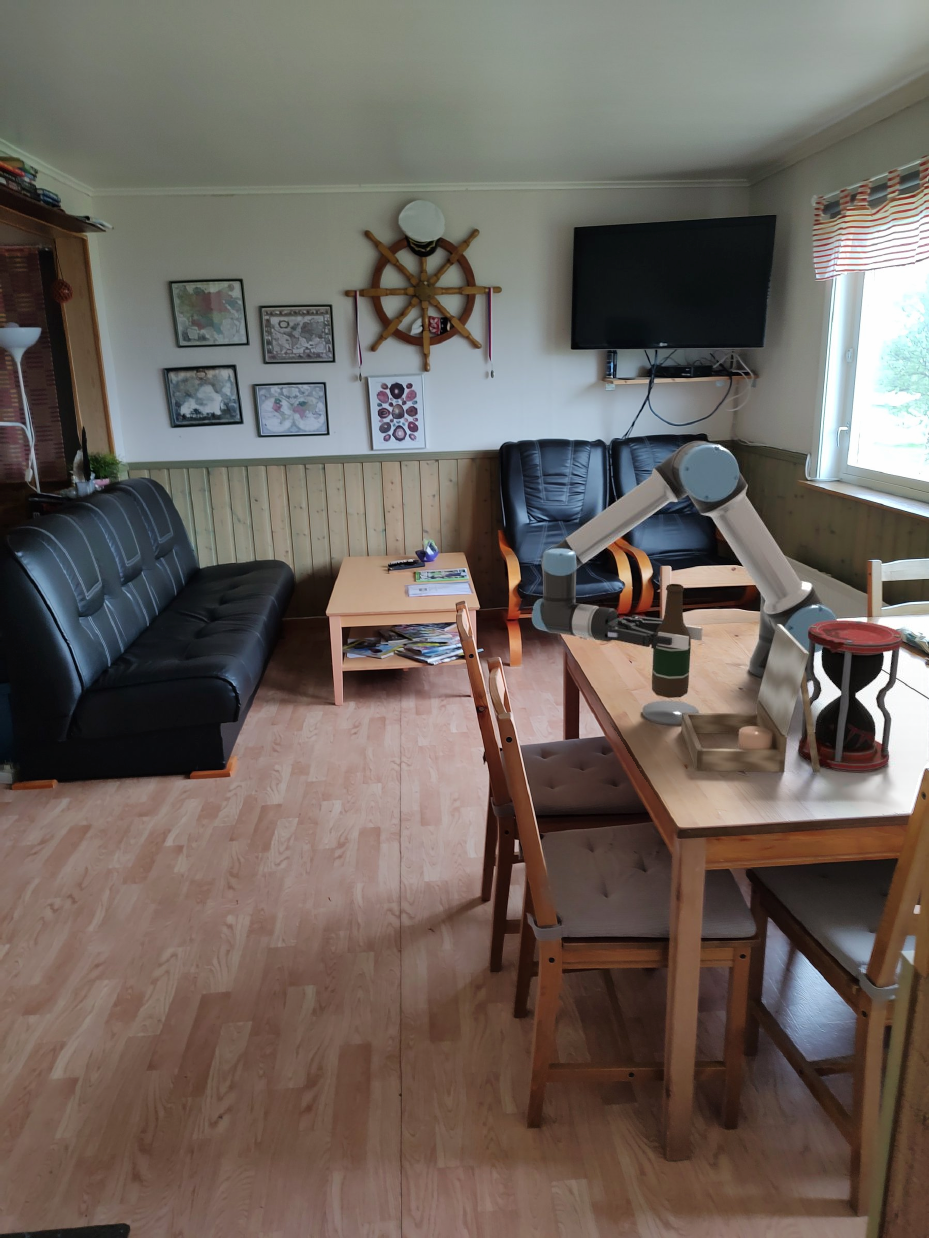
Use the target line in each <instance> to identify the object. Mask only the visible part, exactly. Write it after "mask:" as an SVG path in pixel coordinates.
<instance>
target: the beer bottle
mask: <svg viewBox="0 0 929 1238" xmlns="http://www.w3.org/2000/svg"><path fill="white" fill-rule="evenodd" d="M665 590H666V598H665V607H664V615H663V618H662V619H663V622H662V623H661V624H660V625H659V627H658V628H657V630H656V633H657V635H658V632H664V633H670V634H676V635H683V636H689V647H688V650H685V649H679V648H673V647H667V646H661V645H657V643H656V648H655V649H652V669H651V670H652V671H651V672H652V673H651V690H652V692H653V693H654V694H655V695H656V696H659V697H663V698H667V699H669V698H670V699H672V698H673V699H675V698H676V699H677V698H682V697H684V696H685V695H687V694H688V692H689V682H690V681H689V680H690V664H691V663H690V662H691V649H692V644H691V643H692V641H691V640H692V639H691V637H690V634H689V631H688V629H687V627H686V625H687V624H685V622H684V613H683V611H684V609H683V605H684V604H683V599H684V598H683V597H684V596H683V592H684V591H685V588H684V586H683V585H682V584H680V583H669V584H667V585H666V587H665Z"/></svg>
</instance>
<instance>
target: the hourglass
mask: <svg viewBox="0 0 929 1238" xmlns="http://www.w3.org/2000/svg"><path fill="white" fill-rule="evenodd" d="M808 638H809V650H808V653H809V656H808V661H807V672H808V676H809V677H810V679H809V680H811V681H812V685H813V691H812V695H811V696H809V699H810V705H811V706H812V705H813V703H814V702H816V701H817V700H818V699H819V698H820V696H821V694H822V691H823V690H822V685H821V682H820V680H819V679H818V678H817V677H816V674H815V670H814V671H813V667H814V668H815V656H816V655H815V654H816V653H815V643H816V644H818V645H820V646H823V648H822V651H821V653H820V655H821V656H820V657H821V658H820V659H821V667H822V669H823V672H824V674H825V675H826V676H827V678H828V679H829V681H831V682H832V683H833V685H835V687H836V688H837V690H839V692H840V695H838V696H837V697H835V698H834V699H833V700H832V701H830V702H829V703H828V704H827V705H825V706H824V707H823V708H822V709H821V710H820V712H819V713H818V714H817V716H816V720H815V723H814V733H815V739H816V746H817V753H818V760H819V766H820V767H823V768H826V769H830V770H834V771H840V772H849V773H869V772H874V771H878V770H880V769H883V768H885V767H886V766H887V764H889V760H890V751H889V742H890V735H891V727H892V717H891V713H890V712H889V710H888V709H887V707H886V704H885V698H886V696H887V693H888V692H889V691H890V690H891V689H892V688H893V687H894V686H895V684H896V681H897V674H898V666H899V665H898V664H899V658H900V657H899V655H900V649H901V646H903V634H902V633H901V632H900V631H898V630H896V629H895V628H892V627H889V626H886V625H882V624H878V623H874V622H866V621H863V620H862V621H861V620H846V619H845V620H842V619H841V620H837V621H824V622H819V623H815V624H813V625H811V626H810V627H809V628H808ZM886 652H891V657H890V667H889V676H888V681H887V682H886V683H885V686H883V687H882V688H880V689H879V690H878V693H877V694H876V697H875V700H876V706H877V708H878V709H879V711H880V712H881V713H882V717H883V719H884V720H883V730H882V739H881V742H880V741H877V740H876V734H877V733H876V721H875V720H874V718H873V715H872V714H871V713H870V711H869V710H868V709H867V707H866V706H865V705H864V704H863V703H862V702H861V701H860V700H859V699H858V698H857V697H856V696H857V694H858V693H859V692H861V691H862V690H864V689H865V688H866V687H868V686H869V685H870V684H871V683H873V682H874V681H875V680H876V679H877V678H878V676H879V675H880V674H881V672H882V671H883V670H882V669H883V665H884V661H885V655H884V653H886ZM801 721H802V724H801V732H800V733H801V735H800V738H799V739H798V749H797V750H798V753H799V754H800V755H801V756H802V758H804V759H805V760H807V761H808V762H810V763H812V760H811V753H810V746H809V740H808V733H807V726H806V720H805V713H804V708H803V711H802V720H801Z"/></svg>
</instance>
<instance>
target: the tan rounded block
mask: <svg viewBox="0 0 929 1238" xmlns="http://www.w3.org/2000/svg"><path fill="white" fill-rule="evenodd" d="M771 747H772V732H771V731H770V730H768V729H766V728H762V727H757V726H747V727H743V728H741V729H740V730H739V733H738V745H737V749H771Z"/></svg>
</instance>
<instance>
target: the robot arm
mask: <svg viewBox="0 0 929 1238" xmlns="http://www.w3.org/2000/svg"><path fill="white" fill-rule="evenodd" d="M747 489H748V483H747V482H746V480H745V478H744V477H743V475H742V473H741V472H740V469H739V464H738V460H737V458H736V457H735V456H734V455H733V453H732V452H730V450H728V448H725V447H724V446H723V445H720V444H717V443H711V442H708V441H704V440H694V441H691V442H687V443H686V444H684V445H682V446H680V447H679V448H678V449H677V450H675V451H674V452H673V453H672V454H670V455H669V456H668V457H667V458H666V459H664V460H663V461H662V462H660V463H659V464H658V465H657V466H655V467H654V468H653V469H652V473H651V475H650V476H648V477H647V478H646V479H645V480H643V481H642V482H641V483H640V484H638V485H637V486H635V487H634V488H633V489H631V490H630V491H629V492H627V493H626V494H624V495H623V496H622V497H620V498H619V499H617V500H616V501H615V502H614V503H612V504H611V505H610V506H607V508H605V509H604V510H603V511H601V512H600V513H598V514H597V515H595V516H594V517H593V518H592V519H590V520H589V521H588V522H586V523H585V524H583V525H582V526H581V527H579V528H578V529H576V530H575V531H574V532H573V533H571V534H569V535H568V536H567V537H565V538H564V540H562V541H560V542H558V543H557V544H556V545H551V546H549V547H548V548H546V549H545V550H544V552H543V554H542V556H541V558H540V559H541V560H540V566H541V567H540V568H541V569H542V571H541V572H542V583H543V584H542V585H543V587H542V589H543V592H542V593H543V594H542V598H539V599H537V600H536V601H535V602H534V604H533V607H532V609H533V610H532V612H531V621H532V624H533V626H534V627H535V628H536V629H538V630H540V631H545V632H548V633H551V634H559V635H560V634H561V635H566V636H573V637H581V638H582V640H583V641H585V640H587V639H590V640H596V641H600V642H601V641H602V642H607V643H610V642H612V641H615V642H616V641H618V642H622V643H627V644H632V645H635V646H640V647H646V648H649V647H651V649H652V650H653V649H655V648H656V643H657V645H661V646H667V647H673V648H679V649H685V650H688V647H689V636H683V635H676V634H670V633H664V632H658V635H657V633H656V630H657V628H658V627H659V625H660V624H661V623H662V622H663V618H657V617H650V616H641V615H637V614H633V615H632V616H622V617H620V615H619V614H618V612H617V610H616V609H615V608H610V607H604V606H600V607H599V606H598V605H591V604H583V603H576V587H577V583H576V582H577V569H579V568H580V567H581V566H583V565H584V564H585V563H587V561H589V560H591V559H592V558H593V557H595V556H597V554H599V553H600V552H602V551H603V550H604V549H606V548H608V547H609V546H610V545H611V544H613V543H614V542H616V541H617V540H618V539H620V538H622V537H623V536H624V535H625V534H627V533H628V532H630V531H631V530H632V529H634V528H635V527H636V526H638V525H639V524H641V523H642V522H643V521H645V520H647V519H648V518H649V517H651V516H652V515H653V514H655V513H656V512H657V511H659V510H660V509H662V508H663V507H665V506H666V505H667V504H669V503H670V502H674V503H677V502H679V501H680V500H682V499H683V498H685V497H687V496H688V497H689V498H690V500H691V502H692V503H693V504H694V505H695V508H696V509H697V510H698V512H699V514H700V515H703V516H708V517H710V518H711V519H712V520H713V522H714V524H715V525H716V527H717V528H718V530H719V532H720V533H721V535H722V536H723V538H724V539H725V540H726V541H727V544H728V545H729V546H730V548H731V550H732V552H734V554H735V556H736V558H737V559H738V560H739V562H740V563H741V565H742V567H743V568H744V569H745V571H746V573H747V575H748V576H749V577H750V578H751V581H753V583H754V585H755V586H756V588H757V589H758V591H759V593H760V612H759V627H758V639H757V643H756V645H755V648H754V650H753V653H752V655H751V656H750V659H749V665H748V666H749V668H748V670H749V672H750V673H751V674H752V675H754V676H755V677H758V678H761V679H763V676H764V672H765V668H766V664H767V661H768V657H769V653H770V649H771V645H772V642H773V638H774V634H775V630H776V626H777V624H780V625H782V626H783V627H784V628H785V629H786V630H787V631H788V632H789V633H790V634H791V635H792V636H793V637H794V638H795V639H796V640H797V641H798V643H799V644H800V645H801V646H802V647H803V648H804V649H805V650H806V651H807V652H808V650H809V638H808V628H809V627H810V626H811V625H813V624H815V623H819V622H824V621H837V617H836V615H835V614H834V613H835V612H833V610H832V609H830V608H829V607H828V606H826V605H825V603H824V602H823V601H822V599H821V597H820V596H819V595H818V593H817V591H816V590H815V589H814V585H813V584H812V583H811V582H809V581H803V580H800V578H799V577H798V575H797V573H796V572H795V570H794V568H793V567H792V565H791V564H790V562H789V561H788V559H787V558H786V556H785V555H784V553H783V551H782V550H781V548H780V547H779V545H778V543H777V542H776V540H775V538H774V537H773V535H772V534H771V532H770V531H769V530H768V528H767V527H766V525H765V523H764V521H763V520H762V518H761V517H760V516H759V514H758V512H757V511H756V509H755V508H754V506H753V505H752V503H751V501H750V500H749V498H748V497H747V494H746V493H747ZM685 625H686V627H687V629H688V631H689V634H690V637H691V640H695V641H702V640H703V629H704V628H703V627H699V626H694V625H687V624H685ZM822 648H823V646H820V645H818V644H816V643H815V654H816V653H819V652H822ZM807 661H808V660H807ZM813 671H814V672H815V666H814V667H813ZM805 672H806V678H807V681H808V680H811V679H810V677H809V676H808V672H807V663H806V667H805Z"/></svg>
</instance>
